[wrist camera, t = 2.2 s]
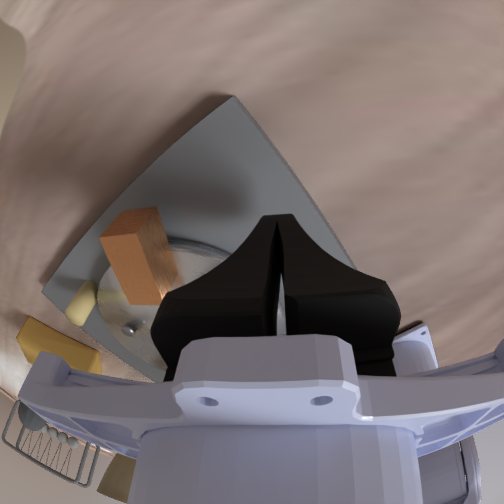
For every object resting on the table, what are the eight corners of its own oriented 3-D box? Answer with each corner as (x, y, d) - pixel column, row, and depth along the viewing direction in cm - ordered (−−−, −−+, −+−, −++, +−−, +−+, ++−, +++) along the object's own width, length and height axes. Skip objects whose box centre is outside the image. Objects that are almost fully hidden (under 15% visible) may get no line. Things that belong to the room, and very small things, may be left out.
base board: (383, 316, 20) (397, 361, 16) (182, 388, 28) (175, 421, 25) (235, 95, 12) (219, 102, 8) (47, 283, 20) (24, 315, 17)
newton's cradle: (30, 410, 61) (15, 449, 46) (16, 397, 55) (-1, 439, 40) (102, 444, 62) (89, 490, 48) (92, 435, 56) (77, 485, 42)
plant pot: (101, 419, 42) (81, 485, 29) (165, 432, 40) (149, 510, 27) (136, 444, 50) (123, 499, 37) (194, 454, 48) (184, 516, 35)
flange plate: (287, 370, 22) (287, 408, 19) (143, 365, 23) (132, 397, 20) (275, 185, 13) (276, 221, 10) (61, 214, 14) (28, 246, 12)
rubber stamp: (99, 349, 26) (60, 445, 16) (102, 372, 29) (72, 454, 19) (29, 314, 24) (-18, 394, 14) (38, 340, 27) (1, 413, 17)
